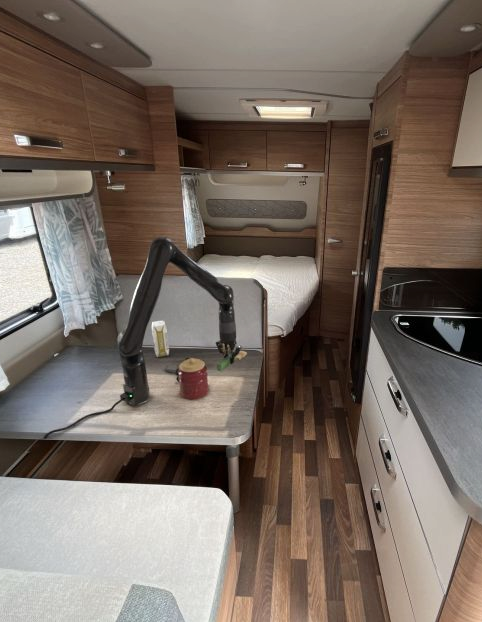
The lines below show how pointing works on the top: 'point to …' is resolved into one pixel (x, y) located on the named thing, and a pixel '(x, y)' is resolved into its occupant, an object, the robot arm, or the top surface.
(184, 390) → the kitchen canister
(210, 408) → the top surface
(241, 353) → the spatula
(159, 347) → the juice carton
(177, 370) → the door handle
